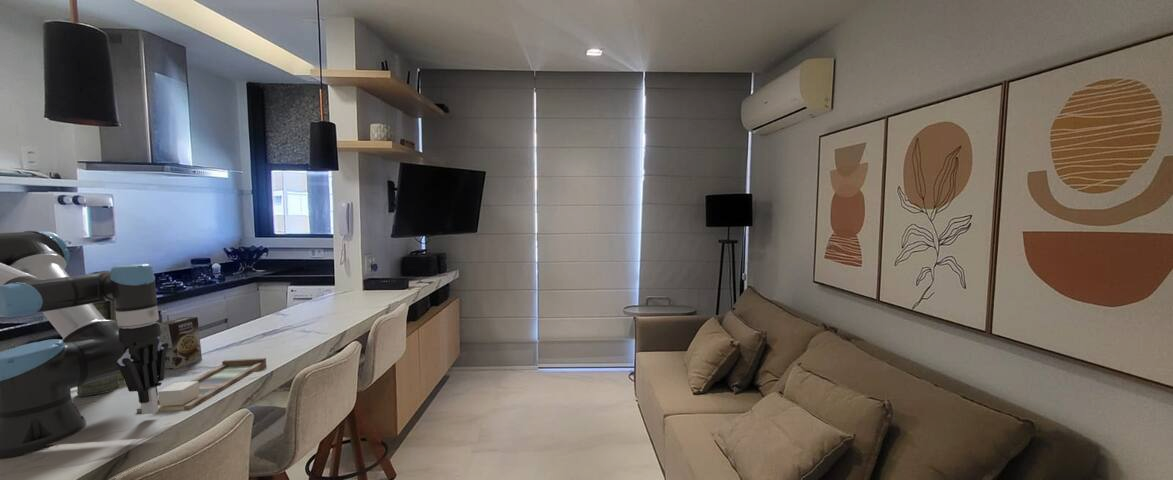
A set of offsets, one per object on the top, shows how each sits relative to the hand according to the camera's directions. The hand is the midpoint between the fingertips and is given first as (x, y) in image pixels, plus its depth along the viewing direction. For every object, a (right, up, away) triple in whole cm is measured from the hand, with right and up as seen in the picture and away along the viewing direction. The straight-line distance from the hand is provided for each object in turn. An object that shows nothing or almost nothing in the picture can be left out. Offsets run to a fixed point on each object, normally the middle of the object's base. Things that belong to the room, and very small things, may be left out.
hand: (150, 412), depth 114 cm
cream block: (-1, -1, +10) cm, 10 cm away
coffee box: (-31, 0, +42) cm, 52 cm away
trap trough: (-2, -1, +20) cm, 20 cm away
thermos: (-36, -1, +20) cm, 42 cm away
